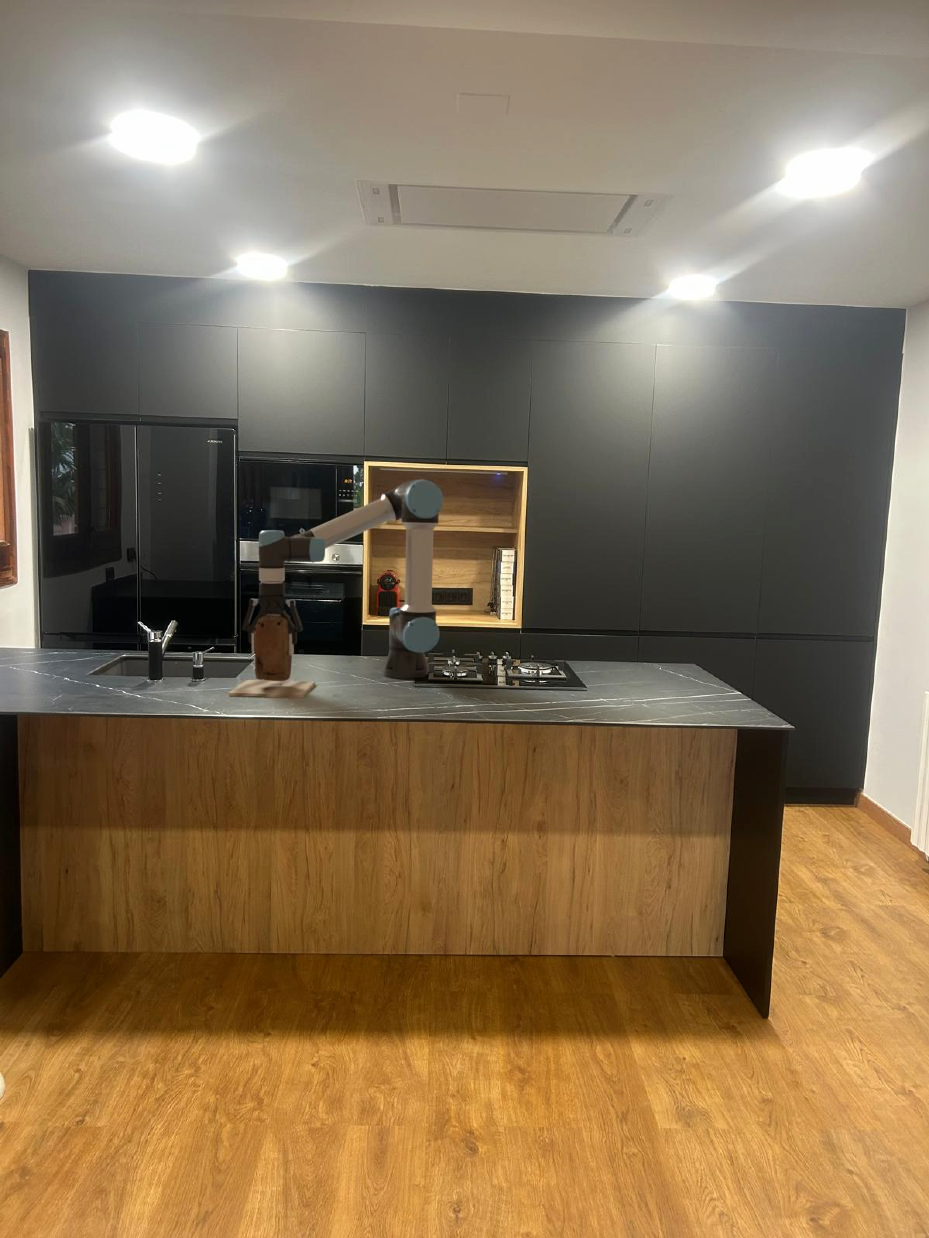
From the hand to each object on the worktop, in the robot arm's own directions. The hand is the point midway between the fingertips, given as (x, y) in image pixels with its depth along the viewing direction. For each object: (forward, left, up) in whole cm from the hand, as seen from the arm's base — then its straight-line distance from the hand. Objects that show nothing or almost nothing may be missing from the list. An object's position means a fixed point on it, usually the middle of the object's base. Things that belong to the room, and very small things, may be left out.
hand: (272, 654), depth 256 cm
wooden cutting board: (0, 0, -11) cm, 11 cm away
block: (0, 0, -8) cm, 8 cm away
